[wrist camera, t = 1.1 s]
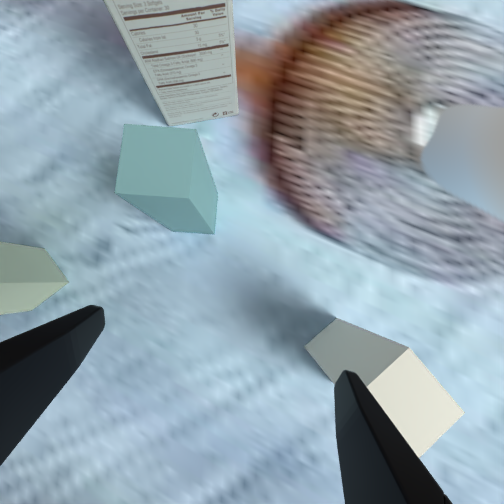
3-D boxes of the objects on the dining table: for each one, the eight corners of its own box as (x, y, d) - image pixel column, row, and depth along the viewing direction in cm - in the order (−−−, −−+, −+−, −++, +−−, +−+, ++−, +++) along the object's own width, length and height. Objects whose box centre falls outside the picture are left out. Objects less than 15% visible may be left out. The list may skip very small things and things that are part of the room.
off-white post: (332, 382, 21) (406, 470, 11) (303, 346, 22) (350, 401, 12) (365, 352, 22) (465, 412, 12) (336, 317, 22) (409, 347, 12)
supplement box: (156, 64, 25) (64, -156, 12) (227, 53, 25) (207, -172, 13) (167, 129, 24) (79, -36, 12) (240, 117, 24) (232, -56, 12)
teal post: (214, 234, 23) (189, 198, 13) (172, 231, 23) (114, 193, 13) (218, 193, 23) (196, 129, 13) (176, 190, 23) (124, 123, 13)
